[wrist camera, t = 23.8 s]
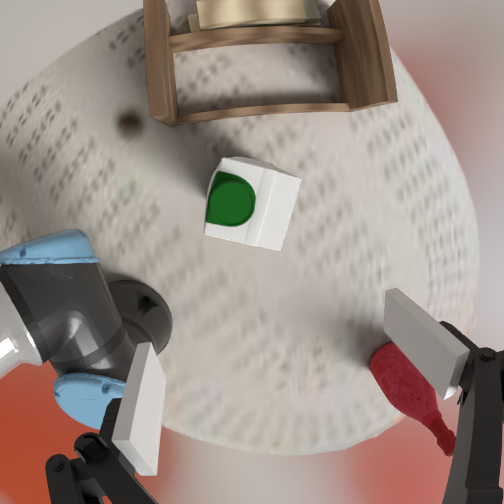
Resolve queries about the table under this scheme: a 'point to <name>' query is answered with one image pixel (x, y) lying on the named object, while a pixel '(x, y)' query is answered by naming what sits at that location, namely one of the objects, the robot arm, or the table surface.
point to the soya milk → (250, 202)
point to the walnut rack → (339, 34)
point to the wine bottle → (410, 392)
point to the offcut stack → (253, 14)
